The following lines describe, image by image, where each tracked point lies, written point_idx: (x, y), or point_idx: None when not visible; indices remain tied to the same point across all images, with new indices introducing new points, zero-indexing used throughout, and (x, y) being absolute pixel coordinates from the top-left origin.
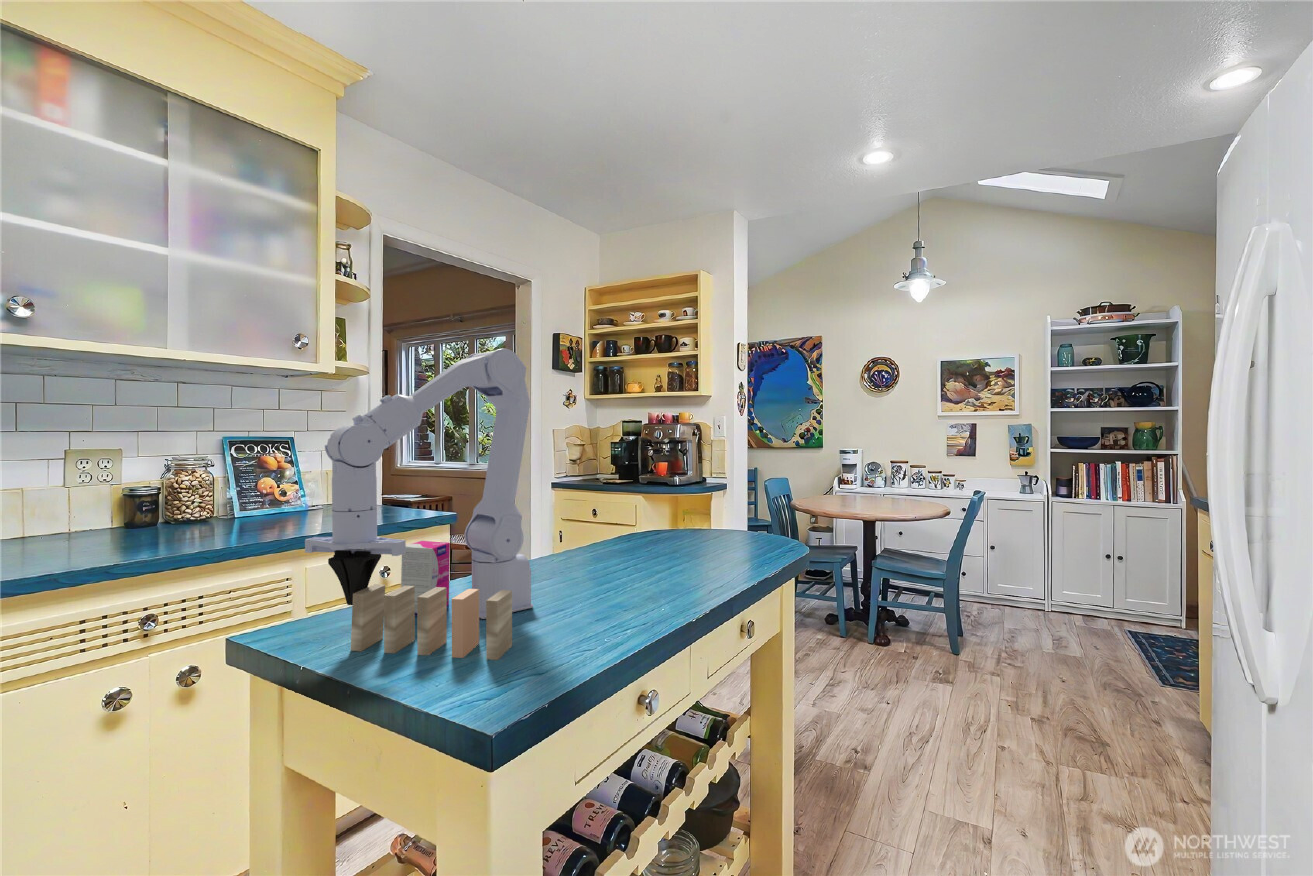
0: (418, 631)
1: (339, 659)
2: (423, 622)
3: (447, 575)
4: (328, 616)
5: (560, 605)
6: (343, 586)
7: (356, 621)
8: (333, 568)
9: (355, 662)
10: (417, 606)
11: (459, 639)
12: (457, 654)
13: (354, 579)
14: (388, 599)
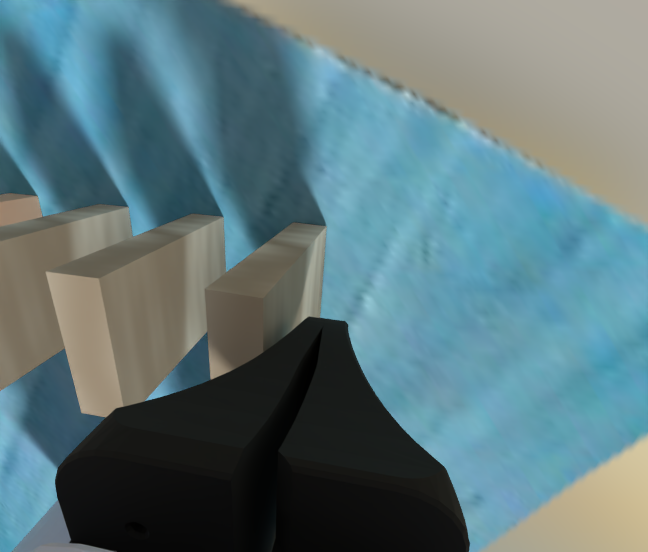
0: (72, 221)
1: (321, 160)
2: (25, 225)
3: None
4: (545, 475)
5: (26, 492)
6: (345, 360)
7: (284, 250)
8: (396, 435)
9: (259, 140)
10: None
11: None
12: (14, 195)
13: (253, 370)
14: (89, 268)
